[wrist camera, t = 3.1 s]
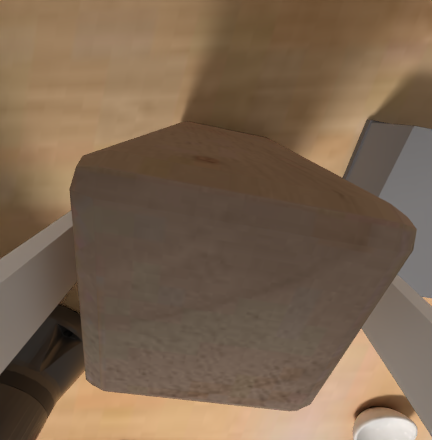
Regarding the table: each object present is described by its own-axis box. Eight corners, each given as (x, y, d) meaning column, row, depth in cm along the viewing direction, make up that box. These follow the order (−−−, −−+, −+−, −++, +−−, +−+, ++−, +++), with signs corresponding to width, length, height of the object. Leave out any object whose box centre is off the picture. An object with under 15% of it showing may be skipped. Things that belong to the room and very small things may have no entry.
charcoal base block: (311, 254, 30) (331, 285, 25) (366, 119, 23) (413, 122, 18) (426, 271, 31) (470, 304, 26) (512, 148, 24) (597, 158, 19)
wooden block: (178, 118, 23) (44, 147, 5) (274, 138, 24) (454, 225, 6) (168, 208, 27) (76, 400, 9) (250, 223, 28) (310, 424, 10)
